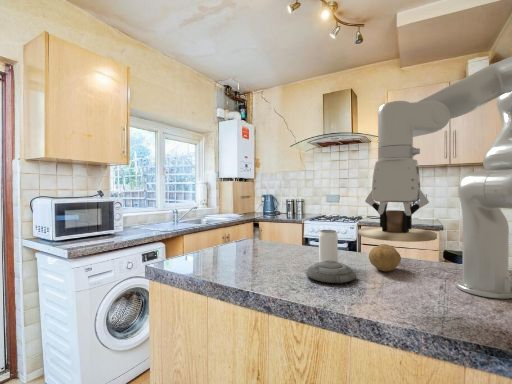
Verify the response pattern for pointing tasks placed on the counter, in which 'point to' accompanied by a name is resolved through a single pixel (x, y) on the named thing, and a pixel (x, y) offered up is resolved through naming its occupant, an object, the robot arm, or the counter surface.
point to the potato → (384, 257)
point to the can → (328, 245)
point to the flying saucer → (331, 272)
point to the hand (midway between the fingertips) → (395, 230)
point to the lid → (397, 230)
